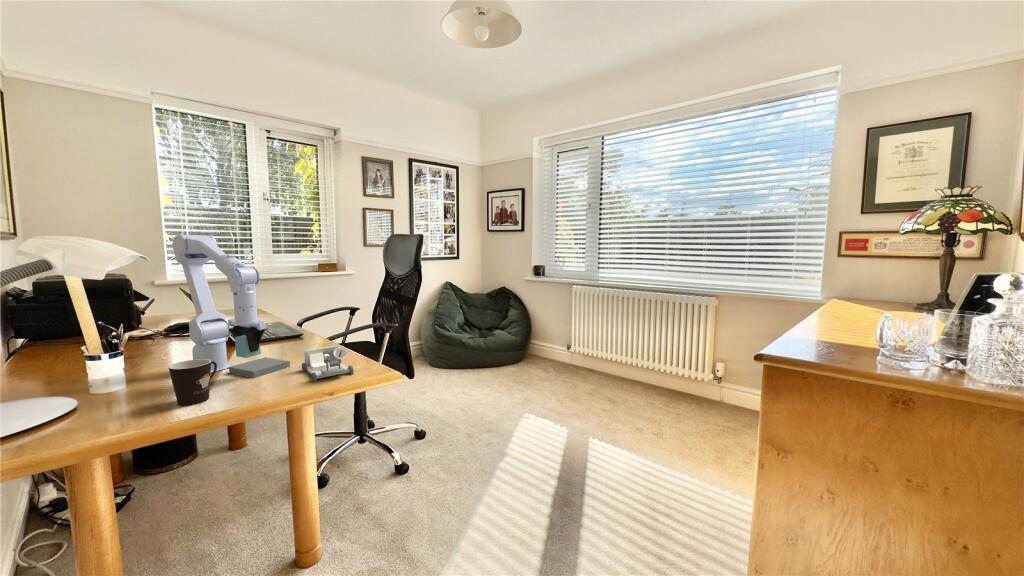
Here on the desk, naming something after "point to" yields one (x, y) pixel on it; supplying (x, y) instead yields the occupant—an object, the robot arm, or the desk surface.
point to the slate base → (259, 367)
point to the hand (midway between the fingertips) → (248, 350)
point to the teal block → (244, 347)
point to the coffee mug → (192, 380)
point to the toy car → (325, 362)
